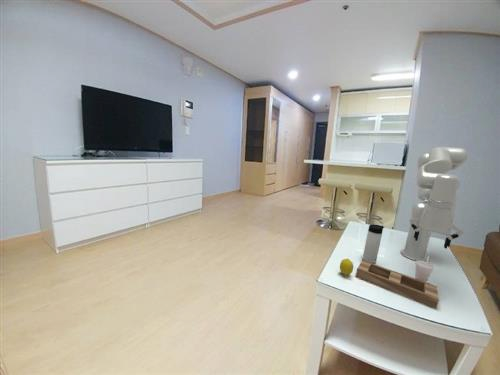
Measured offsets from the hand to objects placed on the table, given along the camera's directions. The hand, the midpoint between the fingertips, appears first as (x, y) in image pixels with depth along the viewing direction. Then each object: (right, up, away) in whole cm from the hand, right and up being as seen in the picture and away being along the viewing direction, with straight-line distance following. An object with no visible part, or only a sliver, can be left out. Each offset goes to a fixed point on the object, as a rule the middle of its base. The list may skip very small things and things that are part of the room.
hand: (430, 243), depth 91 cm
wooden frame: (-15, -18, +1) cm, 24 cm away
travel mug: (-15, -15, +20) cm, 29 cm away
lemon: (-34, -16, +6) cm, 38 cm away
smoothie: (-1, -19, +4) cm, 20 cm away
